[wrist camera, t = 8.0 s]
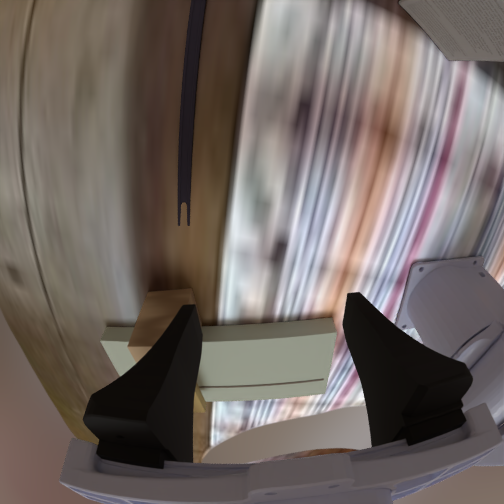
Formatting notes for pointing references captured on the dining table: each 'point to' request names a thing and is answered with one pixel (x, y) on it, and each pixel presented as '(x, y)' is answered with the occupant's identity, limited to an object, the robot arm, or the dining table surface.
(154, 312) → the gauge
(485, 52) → the skincare box
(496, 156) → the dining table surface
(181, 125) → the bar clamp
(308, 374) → the board
